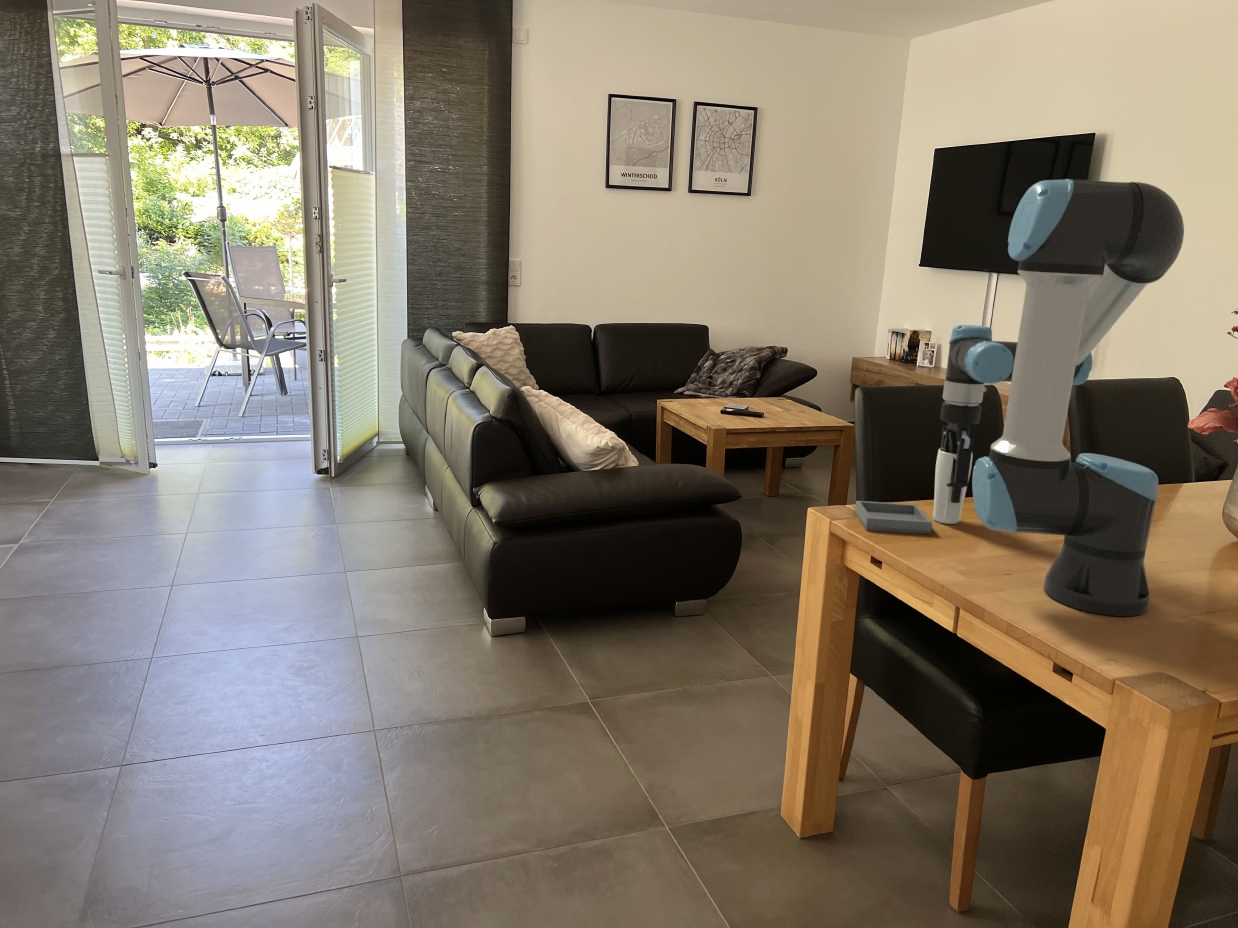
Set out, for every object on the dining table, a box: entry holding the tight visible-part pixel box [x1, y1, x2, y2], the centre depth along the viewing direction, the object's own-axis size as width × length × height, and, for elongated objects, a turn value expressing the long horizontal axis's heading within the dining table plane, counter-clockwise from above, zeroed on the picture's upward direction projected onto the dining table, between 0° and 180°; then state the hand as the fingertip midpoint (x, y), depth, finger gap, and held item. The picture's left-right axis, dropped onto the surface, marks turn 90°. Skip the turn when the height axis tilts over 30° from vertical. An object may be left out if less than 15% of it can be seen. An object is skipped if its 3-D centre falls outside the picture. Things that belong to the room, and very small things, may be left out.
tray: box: [854, 500, 933, 535], centre depth 180 cm, size 13×13×2 cm
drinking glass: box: [932, 447, 974, 525], centre depth 182 cm, size 7×7×15 cm
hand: (946, 512), depth 183 cm, fingers closed on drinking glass, 6 cm apart
